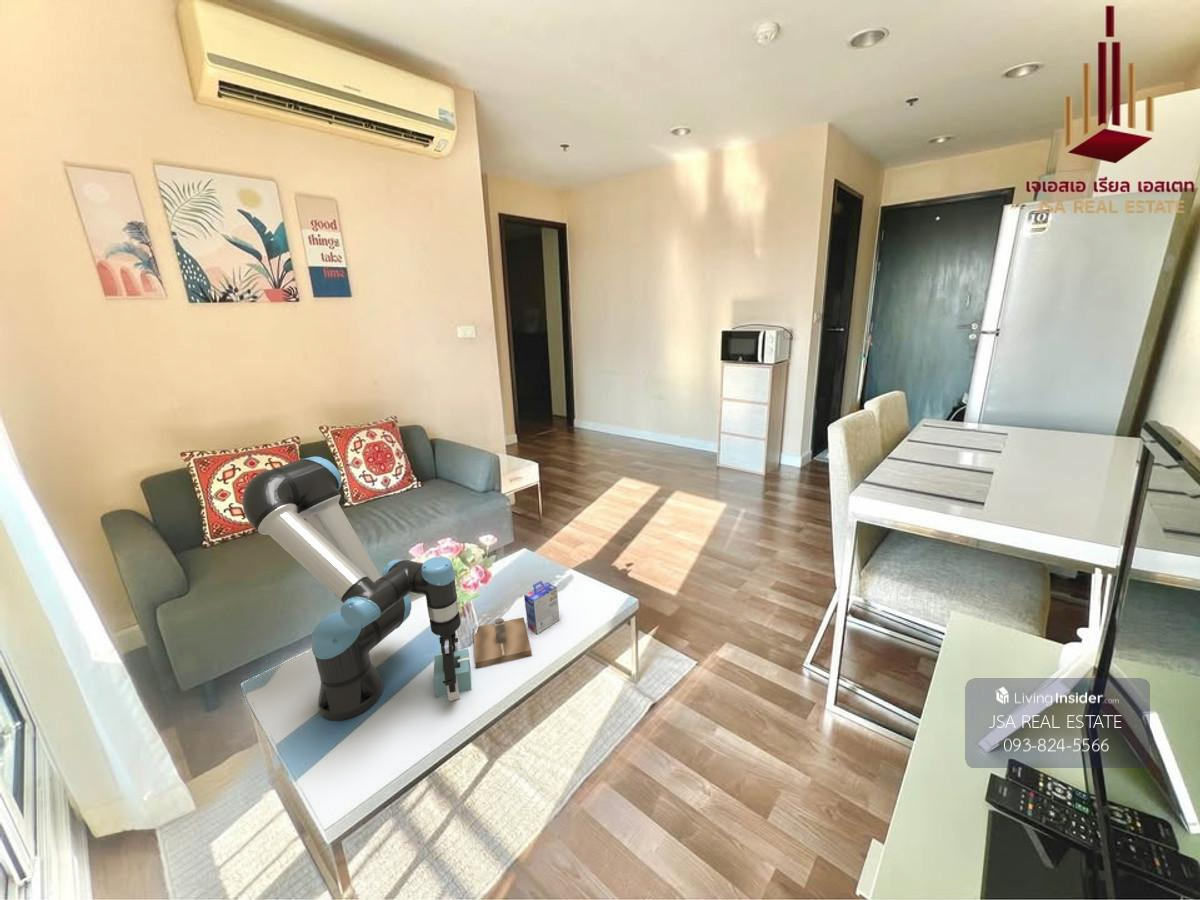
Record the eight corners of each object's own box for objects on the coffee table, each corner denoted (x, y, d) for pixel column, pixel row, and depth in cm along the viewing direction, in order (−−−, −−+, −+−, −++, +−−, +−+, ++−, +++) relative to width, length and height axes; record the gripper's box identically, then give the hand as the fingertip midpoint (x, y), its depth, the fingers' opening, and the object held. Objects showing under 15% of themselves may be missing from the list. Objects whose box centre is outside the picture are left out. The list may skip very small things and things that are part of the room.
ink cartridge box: (549, 612, 155) (546, 574, 151) (560, 619, 152) (558, 581, 148) (526, 627, 149) (522, 588, 144) (537, 634, 145) (533, 595, 141)
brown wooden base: (475, 668, 132) (472, 645, 129) (473, 632, 146) (470, 611, 144) (531, 655, 136) (529, 632, 134) (524, 622, 151) (522, 601, 149)
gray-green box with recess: (472, 689, 125) (469, 669, 123) (436, 697, 122) (433, 678, 120) (470, 665, 133) (468, 647, 131) (437, 673, 130) (434, 654, 128)
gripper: (459, 641, 111) (469, 712, 117) (458, 586, 133) (467, 648, 140) (426, 648, 109) (438, 720, 115) (431, 591, 131) (441, 653, 138)
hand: (454, 680), depth 127 cm, fingers open, 12 cm apart
